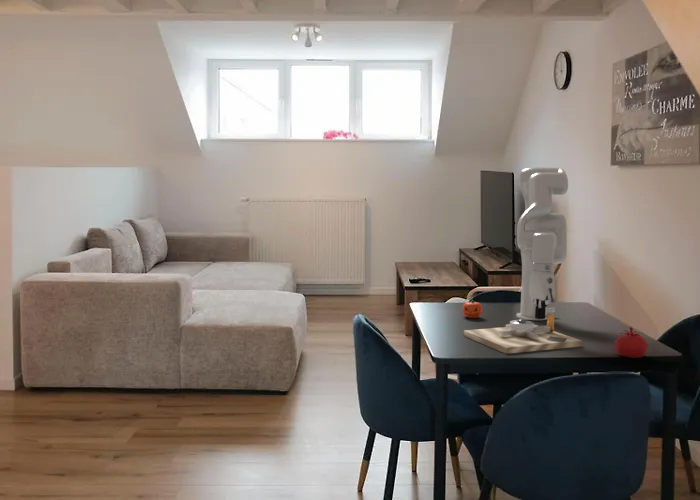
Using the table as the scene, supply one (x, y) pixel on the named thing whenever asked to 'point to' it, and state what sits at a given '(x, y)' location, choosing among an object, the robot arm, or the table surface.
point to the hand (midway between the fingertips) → (540, 318)
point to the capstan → (527, 328)
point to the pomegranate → (631, 345)
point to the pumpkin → (472, 309)
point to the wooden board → (521, 340)
